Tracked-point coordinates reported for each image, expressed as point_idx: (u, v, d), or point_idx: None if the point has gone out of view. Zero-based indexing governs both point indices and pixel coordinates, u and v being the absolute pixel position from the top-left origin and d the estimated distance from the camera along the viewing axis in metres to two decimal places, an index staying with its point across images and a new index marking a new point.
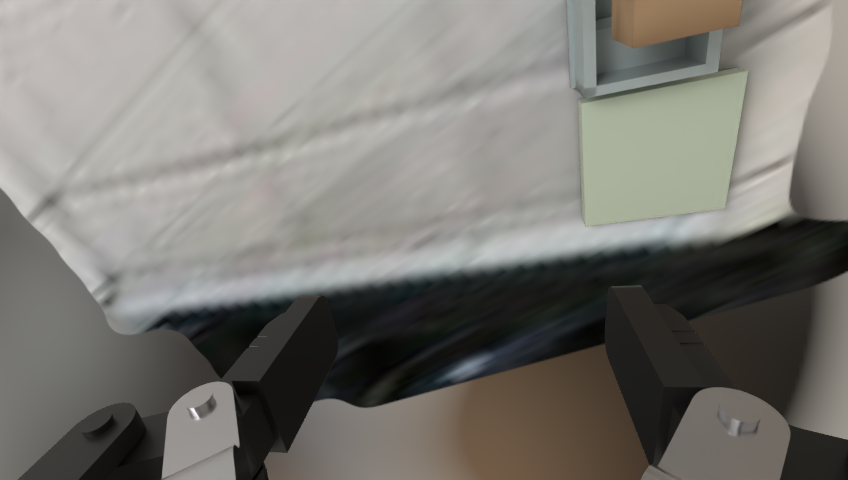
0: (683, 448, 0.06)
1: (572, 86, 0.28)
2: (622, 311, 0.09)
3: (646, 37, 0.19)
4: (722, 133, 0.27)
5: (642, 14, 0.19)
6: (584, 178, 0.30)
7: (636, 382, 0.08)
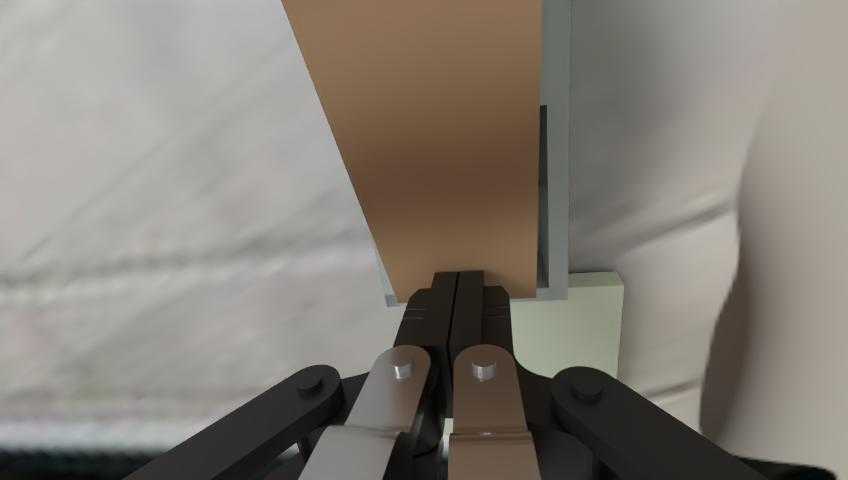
0: (462, 408, 0.07)
1: None
2: None
3: None
4: (598, 353, 0.19)
5: (399, 276, 0.12)
6: None
7: None
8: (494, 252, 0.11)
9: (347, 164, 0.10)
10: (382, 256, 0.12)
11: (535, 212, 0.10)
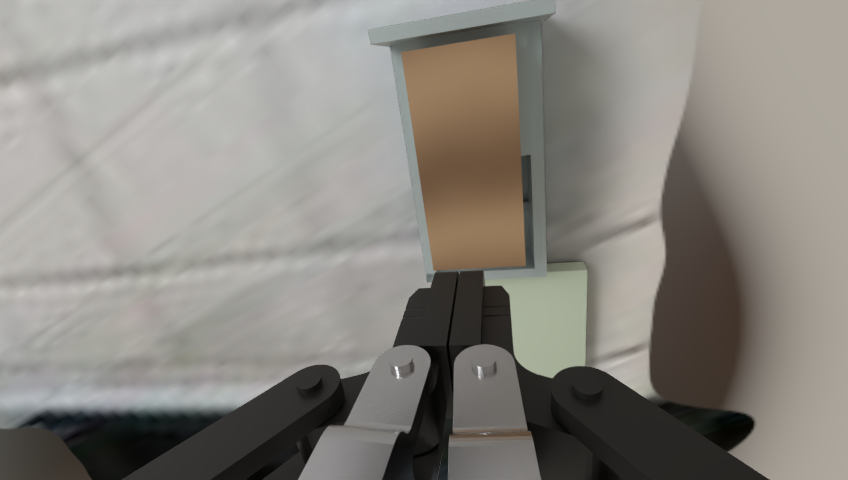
0: (463, 408, 0.07)
1: None
2: None
3: (444, 263, 0.20)
4: (571, 320, 0.28)
5: (437, 245, 0.19)
6: None
7: None
8: (498, 225, 0.18)
9: (418, 159, 0.18)
10: (428, 227, 0.19)
11: (521, 193, 0.18)
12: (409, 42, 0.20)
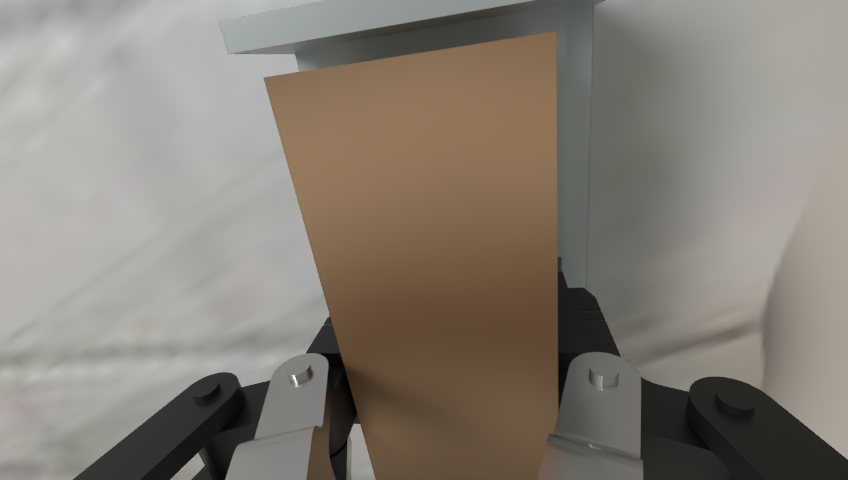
0: (569, 412, 0.07)
1: None
2: None
3: None
4: None
5: (382, 451, 0.10)
6: None
7: None
8: (504, 431, 0.09)
9: (330, 307, 0.08)
10: (363, 423, 0.09)
11: (555, 383, 0.08)
12: (327, 47, 0.10)
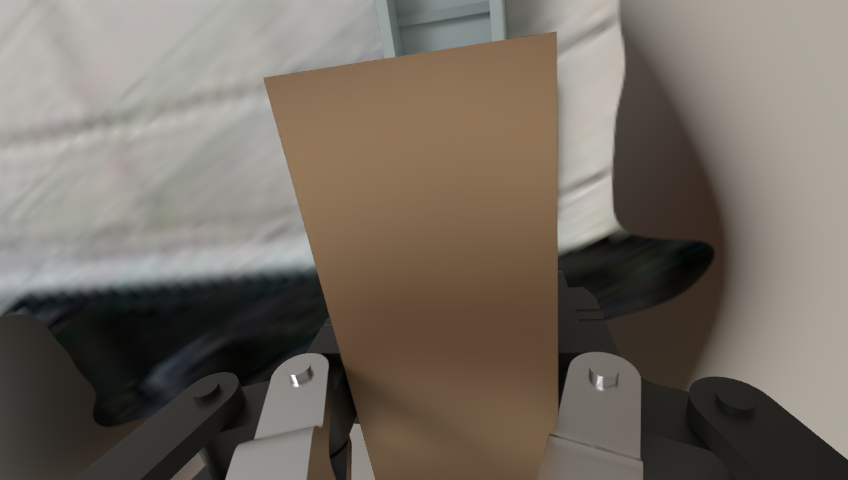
0: (569, 412, 0.07)
1: None
2: None
3: None
4: None
5: (382, 452, 0.10)
6: None
7: None
8: (503, 432, 0.09)
9: (330, 307, 0.08)
10: (362, 423, 0.09)
11: (555, 383, 0.08)
12: None
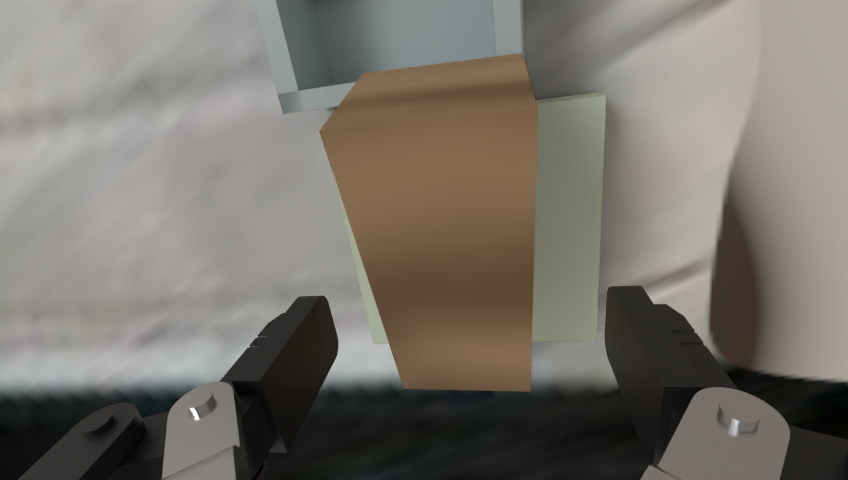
0: (683, 448, 0.06)
1: None
2: (622, 311, 0.09)
3: (417, 383, 0.14)
4: (574, 209, 0.15)
5: (407, 366, 0.14)
6: (355, 265, 0.17)
7: (636, 382, 0.08)
8: (493, 352, 0.13)
9: (370, 278, 0.11)
10: (393, 349, 0.13)
11: (530, 323, 0.12)
12: None
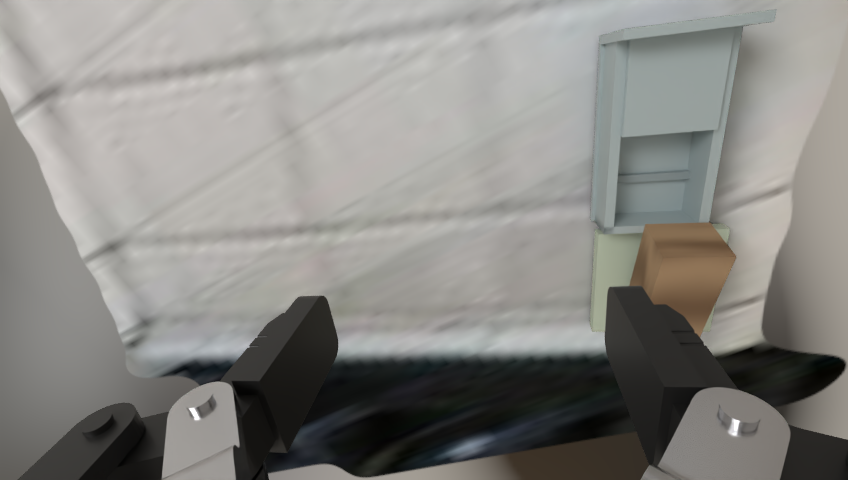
0: (683, 448, 0.06)
1: (592, 219, 0.34)
2: (622, 311, 0.09)
3: None
4: None
5: None
6: (595, 292, 0.36)
7: (636, 382, 0.08)
8: None
9: None
10: None
11: (706, 320, 0.31)
12: (637, 40, 0.26)
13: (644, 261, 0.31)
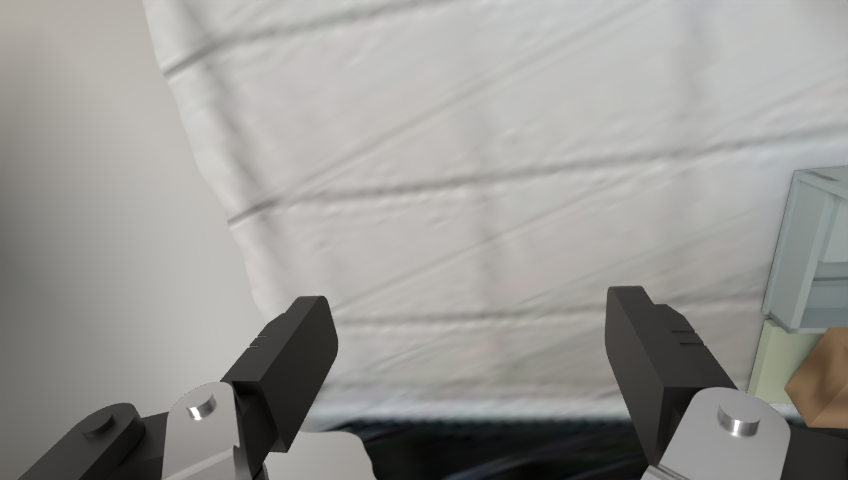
0: (683, 448, 0.06)
1: (765, 313, 0.39)
2: (622, 311, 0.09)
3: (816, 425, 0.38)
4: None
5: (819, 419, 0.37)
6: (761, 372, 0.41)
7: (636, 382, 0.08)
8: None
9: (837, 395, 0.35)
10: (820, 414, 0.37)
11: None
12: None
13: (827, 358, 0.36)
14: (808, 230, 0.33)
